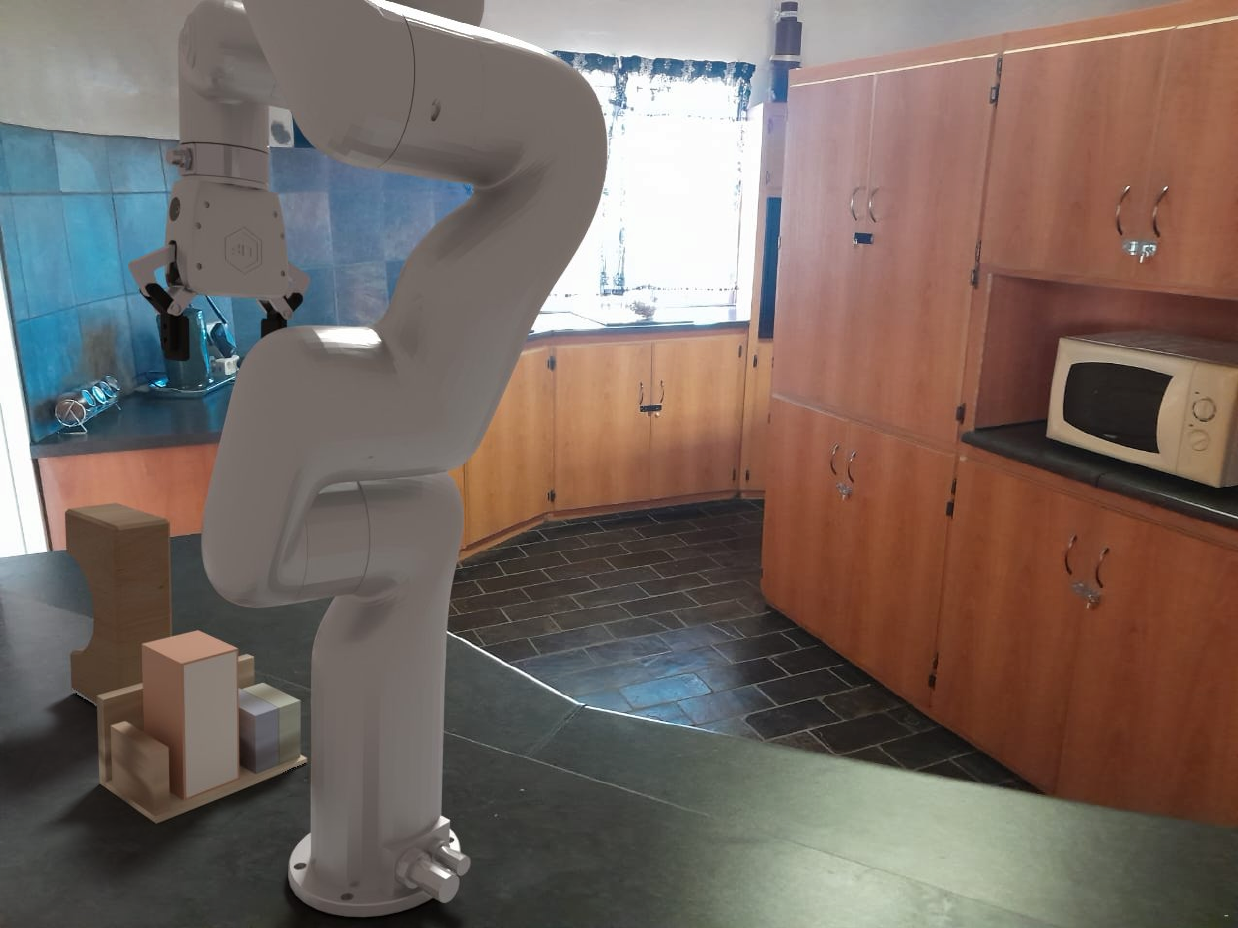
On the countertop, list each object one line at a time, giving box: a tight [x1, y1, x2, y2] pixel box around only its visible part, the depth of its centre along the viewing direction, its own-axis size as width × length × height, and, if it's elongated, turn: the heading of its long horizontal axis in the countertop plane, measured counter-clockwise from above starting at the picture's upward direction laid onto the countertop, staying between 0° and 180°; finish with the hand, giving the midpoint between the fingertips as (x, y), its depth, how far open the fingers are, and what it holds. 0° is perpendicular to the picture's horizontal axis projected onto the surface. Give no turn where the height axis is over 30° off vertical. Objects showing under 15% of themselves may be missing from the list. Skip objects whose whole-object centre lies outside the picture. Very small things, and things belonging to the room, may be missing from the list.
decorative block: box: [64, 502, 173, 704], centre depth 95 cm, size 11×6×20 cm, turn 52°
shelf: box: [96, 653, 308, 824], centre depth 82 cm, size 10×14×8 cm
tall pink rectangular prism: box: [142, 629, 239, 801], centre depth 80 cm, size 7×5×12 cm
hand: (227, 360), depth 87 cm, fingers open, 9 cm apart
